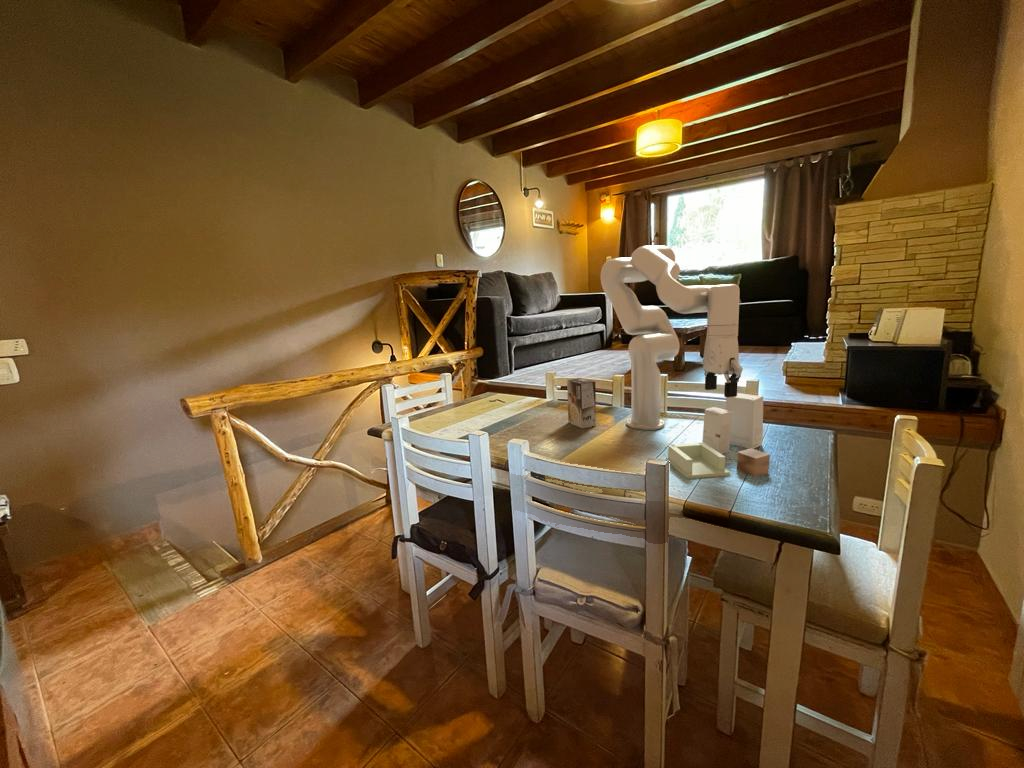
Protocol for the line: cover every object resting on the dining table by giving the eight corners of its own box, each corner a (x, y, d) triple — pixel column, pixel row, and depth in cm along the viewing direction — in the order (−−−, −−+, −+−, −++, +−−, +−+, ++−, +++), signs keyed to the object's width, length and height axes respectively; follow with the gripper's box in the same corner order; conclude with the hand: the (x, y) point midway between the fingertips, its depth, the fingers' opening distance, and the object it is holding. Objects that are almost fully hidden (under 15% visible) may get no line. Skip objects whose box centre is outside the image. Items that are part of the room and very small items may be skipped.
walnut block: (736, 470, 108) (737, 452, 107) (749, 466, 110) (751, 448, 109) (754, 477, 103) (756, 458, 102) (768, 473, 105) (769, 454, 104)
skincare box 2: (762, 445, 123) (766, 396, 120) (751, 450, 120) (755, 399, 116) (734, 438, 130) (737, 391, 127) (723, 442, 126) (725, 394, 123)
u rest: (666, 460, 116) (666, 445, 115) (704, 457, 117) (705, 442, 116) (687, 478, 104) (687, 462, 103) (729, 475, 105) (730, 458, 104)
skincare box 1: (701, 448, 123) (702, 408, 120) (712, 445, 125) (714, 406, 122) (719, 455, 117) (721, 413, 115) (730, 452, 119) (732, 411, 117)
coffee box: (597, 425, 149) (596, 381, 145) (582, 429, 146) (581, 384, 142) (581, 419, 157) (580, 377, 153) (567, 422, 154) (566, 379, 150)
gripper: (692, 330, 122) (691, 388, 125) (727, 334, 105) (725, 401, 108) (717, 328, 122) (715, 386, 126) (756, 332, 106) (753, 398, 109)
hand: (720, 393), depth 117 cm, fingers open, 9 cm apart
